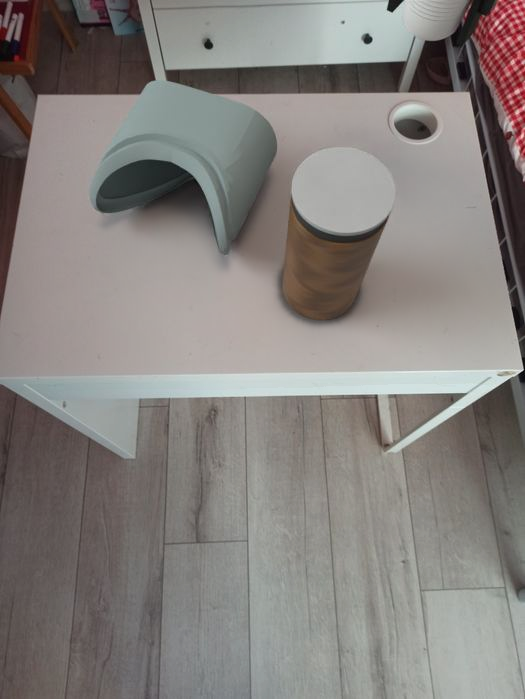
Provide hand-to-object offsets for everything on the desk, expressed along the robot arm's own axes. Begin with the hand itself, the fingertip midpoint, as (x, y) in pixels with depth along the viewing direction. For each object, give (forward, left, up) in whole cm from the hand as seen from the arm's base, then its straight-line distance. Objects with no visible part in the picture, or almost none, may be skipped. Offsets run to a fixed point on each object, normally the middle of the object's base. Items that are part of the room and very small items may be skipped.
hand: (429, 21), depth 54 cm
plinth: (-4, +22, -26) cm, 34 cm away
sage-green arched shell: (+21, +22, -26) cm, 40 cm away
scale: (-4, +22, -6) cm, 23 cm away
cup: (0, 0, 0) cm, 0 cm away
